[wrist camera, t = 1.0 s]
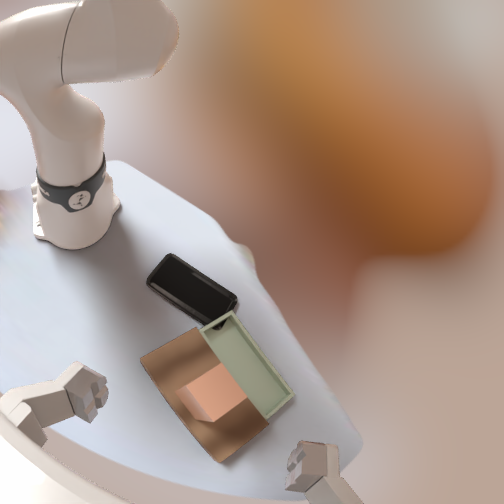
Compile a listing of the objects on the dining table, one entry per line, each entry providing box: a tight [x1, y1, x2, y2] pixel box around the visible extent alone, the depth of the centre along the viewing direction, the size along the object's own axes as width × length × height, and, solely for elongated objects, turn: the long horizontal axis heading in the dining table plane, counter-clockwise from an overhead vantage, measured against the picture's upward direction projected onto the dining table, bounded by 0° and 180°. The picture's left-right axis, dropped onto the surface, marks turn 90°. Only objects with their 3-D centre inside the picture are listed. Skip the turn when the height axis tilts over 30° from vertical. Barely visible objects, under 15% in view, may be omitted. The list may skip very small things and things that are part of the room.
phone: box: [147, 253, 237, 330], centre depth 47 cm, size 8×1×15 cm
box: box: [199, 310, 295, 420], centre depth 42 cm, size 18×7×2 cm, turn 39°
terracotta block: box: [174, 363, 247, 422], centre depth 31 cm, size 5×5×10 cm
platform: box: [140, 327, 269, 463], centre depth 37 cm, size 19×10×3 cm, turn 39°
